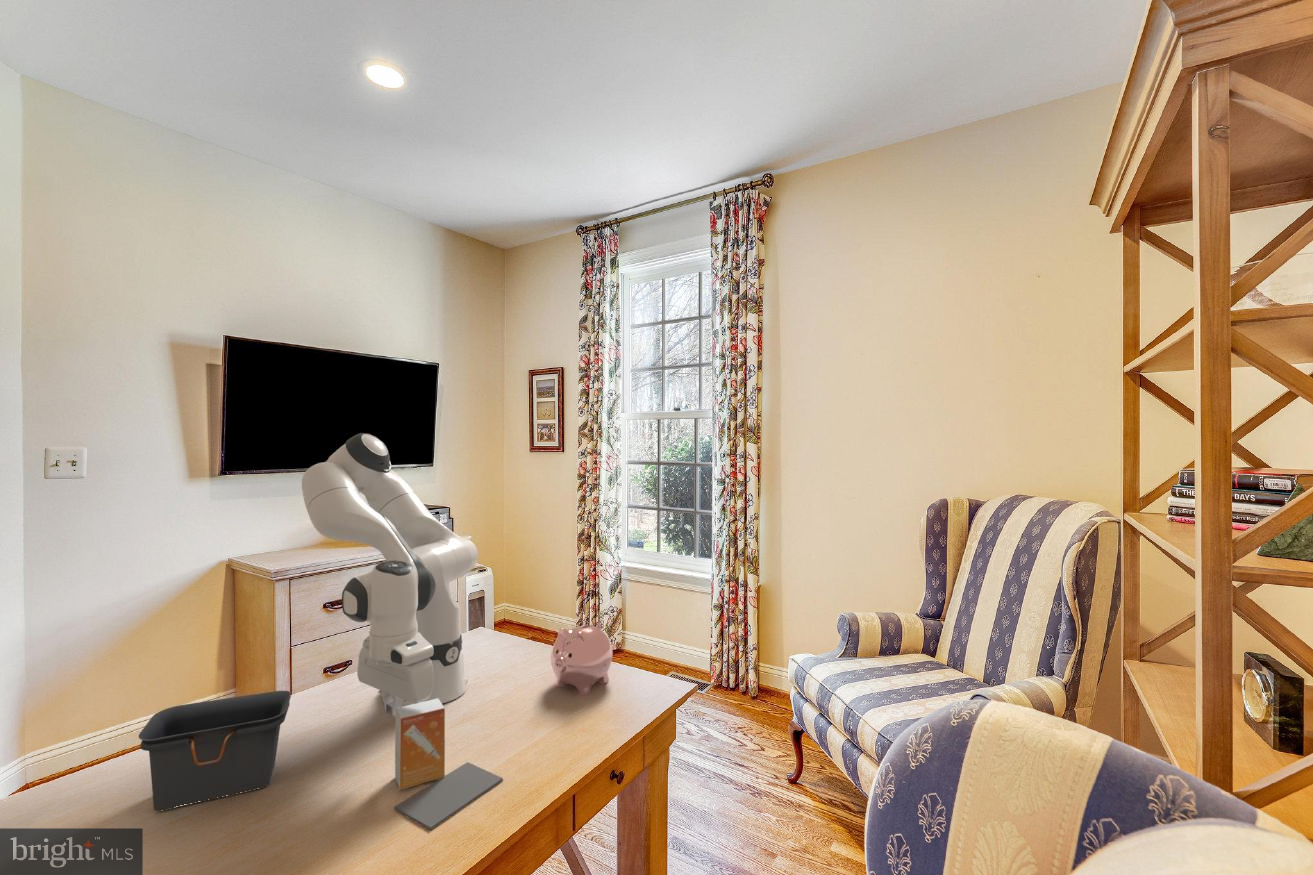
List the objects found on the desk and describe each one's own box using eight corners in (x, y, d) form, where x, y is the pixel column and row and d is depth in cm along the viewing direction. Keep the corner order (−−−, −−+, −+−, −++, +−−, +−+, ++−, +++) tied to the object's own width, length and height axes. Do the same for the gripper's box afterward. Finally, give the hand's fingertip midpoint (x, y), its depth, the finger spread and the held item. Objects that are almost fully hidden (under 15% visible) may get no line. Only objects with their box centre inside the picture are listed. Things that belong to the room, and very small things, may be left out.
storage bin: (291, 755, 113) (293, 685, 113) (282, 798, 100) (284, 719, 100) (156, 784, 103) (158, 708, 103) (125, 837, 89) (127, 749, 90)
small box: (399, 791, 101) (399, 718, 102) (394, 776, 106) (394, 707, 107) (445, 777, 105) (445, 707, 106) (438, 763, 111) (438, 697, 112)
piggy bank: (535, 690, 144) (536, 629, 144) (579, 666, 159) (580, 611, 160) (581, 705, 136) (582, 640, 136) (623, 679, 151) (623, 621, 152)
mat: (394, 809, 97) (394, 806, 97) (467, 764, 111) (467, 761, 111) (430, 830, 92) (430, 827, 92) (502, 780, 105) (502, 777, 105)
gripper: (349, 638, 113) (348, 706, 113) (410, 659, 102) (409, 733, 102) (378, 630, 118) (377, 694, 118) (439, 648, 108) (438, 719, 108)
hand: (393, 712), depth 110 cm, fingers closed
